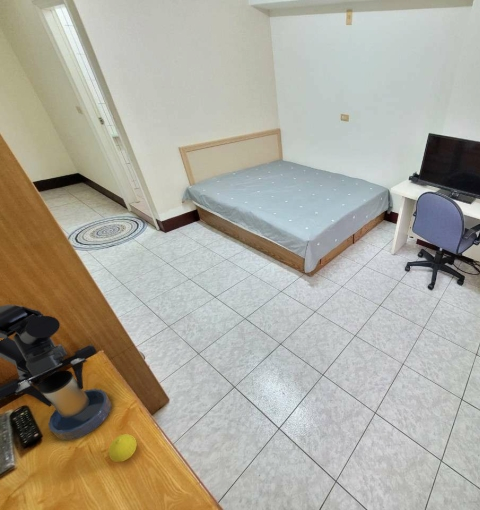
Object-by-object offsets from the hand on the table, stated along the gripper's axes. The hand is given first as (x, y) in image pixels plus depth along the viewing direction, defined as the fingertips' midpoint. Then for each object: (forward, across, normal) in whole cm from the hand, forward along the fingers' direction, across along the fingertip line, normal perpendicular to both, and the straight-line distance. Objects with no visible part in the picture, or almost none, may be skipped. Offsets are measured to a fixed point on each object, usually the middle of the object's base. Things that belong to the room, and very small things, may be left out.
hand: (66, 397), depth 70 cm
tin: (+4, 0, +6) cm, 7 cm away
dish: (+8, 0, +10) cm, 12 cm away
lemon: (+22, +5, -4) cm, 23 cm away
